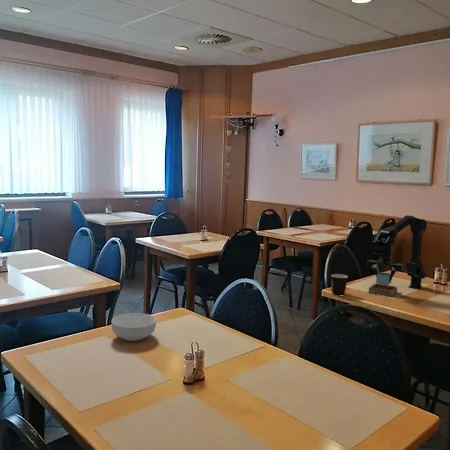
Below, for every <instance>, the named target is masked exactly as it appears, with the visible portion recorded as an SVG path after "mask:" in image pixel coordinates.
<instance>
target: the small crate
mask: <svg viewBox="0 0 450 450" xmlns="http://www.w3.org/2000/svg"><path fill="white" fill-rule="evenodd" d="M390 275H391V272H390V273H388V272H384V271H379V273H378V274H377V277H376V276H375V277H376V278H375V279H376V281H375V283H377V284H383V285H389V286H390V284H392V281H391V282H390Z"/></svg>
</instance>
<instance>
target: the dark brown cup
mask: <svg viewBox="0 0 450 450" xmlns="http://www.w3.org/2000/svg"><path fill="white" fill-rule="evenodd" d="M348 277H349V276H348V275H346V274H340V273H333V274H331V276H330V280H331V283H330V284H331V294H332V293H333V294H334V295H333V294H332V295H333V296H335V295H337V296H336V297H341V296H340V295H344V294H345V293H346V290H347V289H346V288H347V285H348ZM338 295H339V296H338ZM345 295H346V294H345ZM345 295H344V296H345Z"/></svg>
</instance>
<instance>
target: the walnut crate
mask: <svg viewBox="0 0 450 450" xmlns="http://www.w3.org/2000/svg"><path fill="white" fill-rule="evenodd" d="M397 292H398V286H393V285H390V284H389V285H385V284H379V283H376V282H375V283H373V284H372V285H371V286H369V287H368V294H372V293H374V294H373V295H377V294H379V295H378V296H383V295H384V297H389V296H390V297H389V298H392V297H393V296H394V295H396V294H397Z"/></svg>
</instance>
